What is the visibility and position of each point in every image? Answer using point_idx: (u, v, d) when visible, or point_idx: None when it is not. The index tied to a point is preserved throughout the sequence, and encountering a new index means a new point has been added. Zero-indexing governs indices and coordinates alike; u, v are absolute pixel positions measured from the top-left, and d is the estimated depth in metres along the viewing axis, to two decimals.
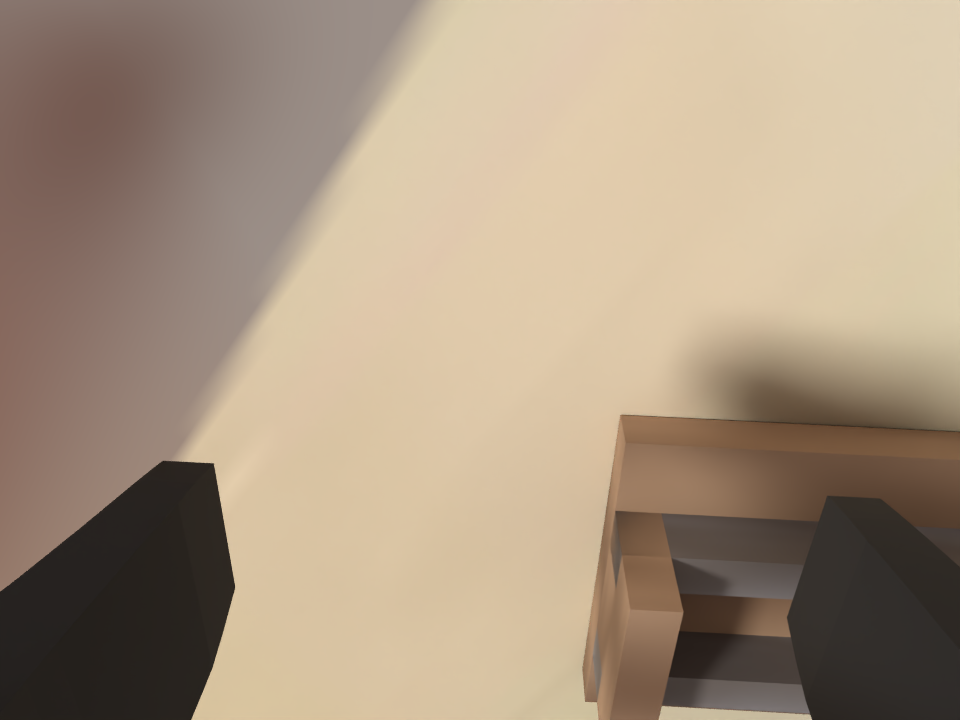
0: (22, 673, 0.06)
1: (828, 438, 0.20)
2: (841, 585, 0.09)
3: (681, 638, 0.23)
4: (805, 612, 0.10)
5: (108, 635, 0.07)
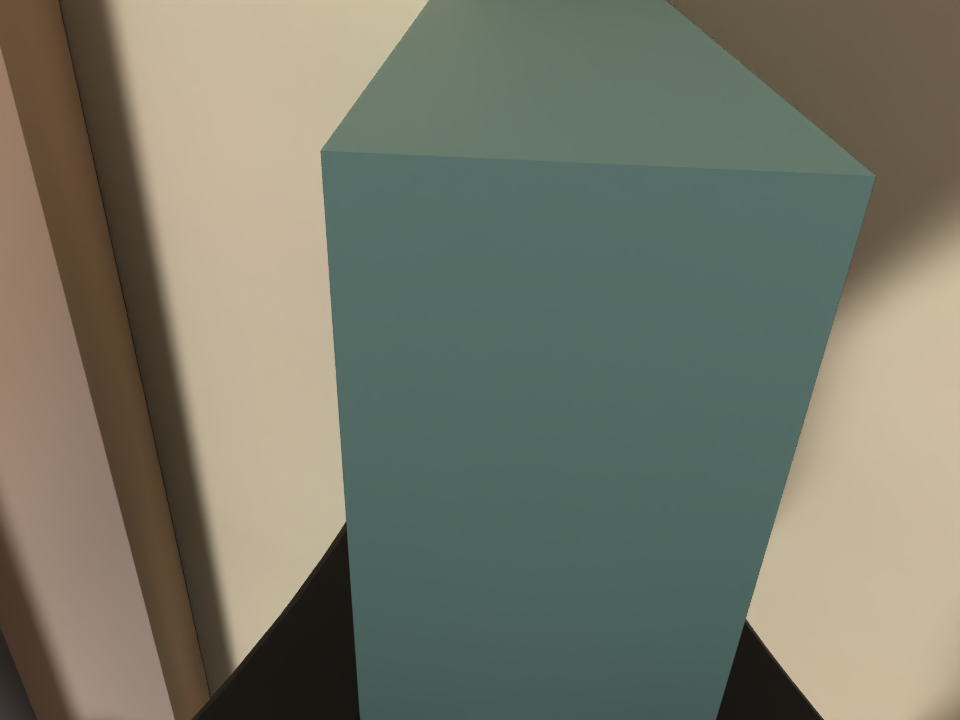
0: (354, 692, 0.06)
1: None
2: None
3: None
4: None
5: None
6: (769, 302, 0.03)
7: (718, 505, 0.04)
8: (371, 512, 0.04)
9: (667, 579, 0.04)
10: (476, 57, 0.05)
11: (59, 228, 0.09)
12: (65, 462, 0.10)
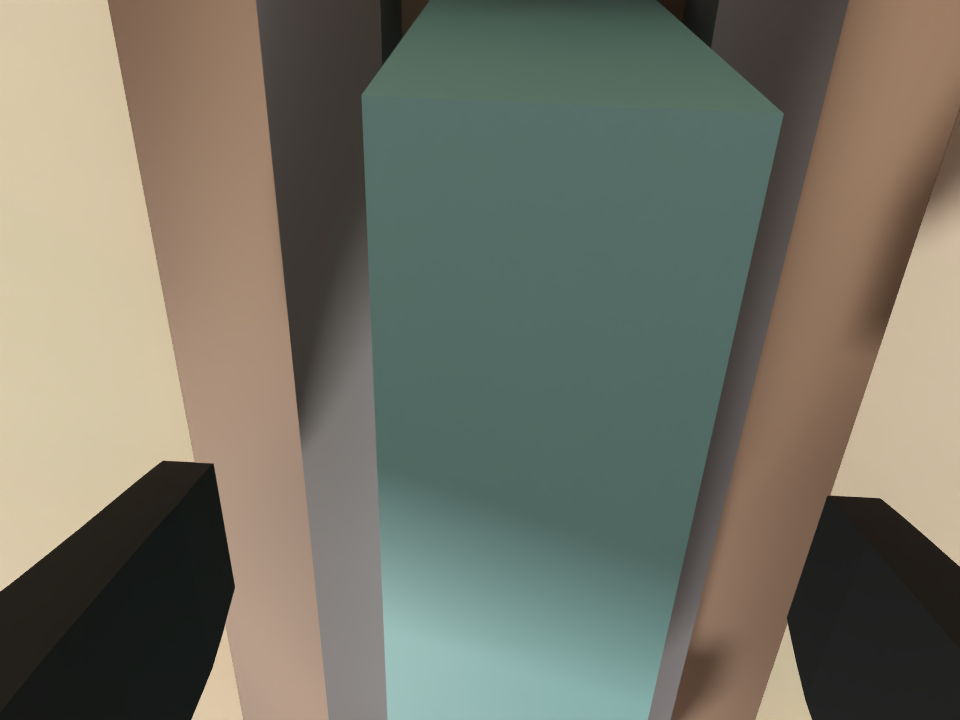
0: (22, 673, 0.06)
1: None
2: (841, 585, 0.09)
3: None
4: (805, 612, 0.10)
5: (108, 635, 0.07)
6: (707, 215, 0.04)
7: (673, 388, 0.05)
8: (394, 397, 0.05)
9: (634, 454, 0.05)
10: (478, 33, 0.05)
11: None
12: (825, 399, 0.12)
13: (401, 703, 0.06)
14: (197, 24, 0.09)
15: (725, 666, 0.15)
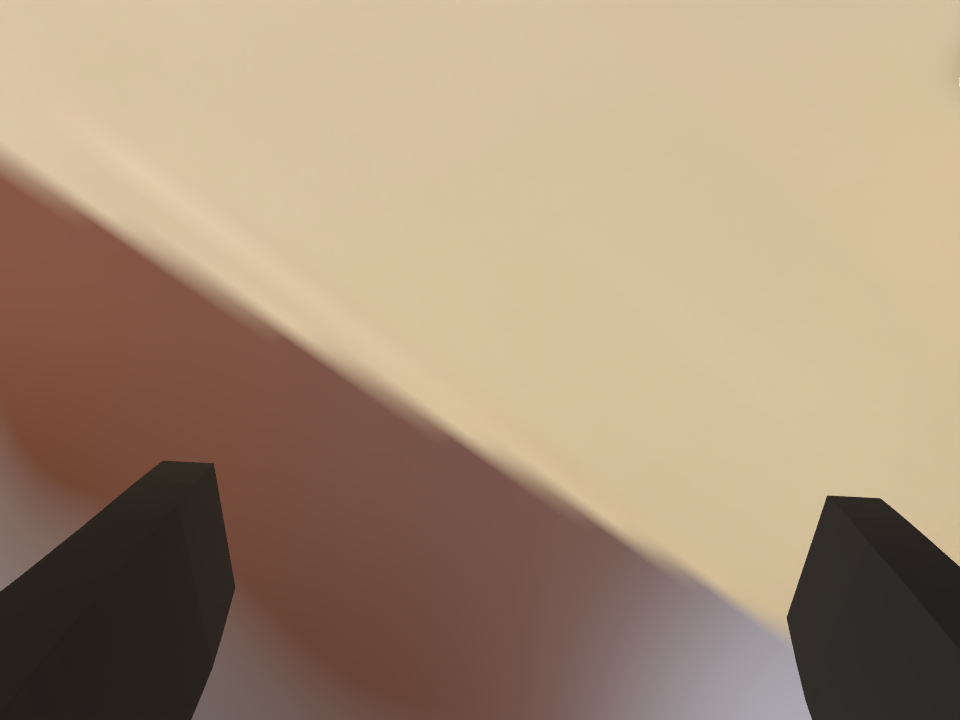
0: (22, 673, 0.06)
1: None
2: (841, 585, 0.09)
3: None
4: (805, 612, 0.10)
5: (108, 635, 0.07)
6: None
7: None
8: None
9: None
10: None
11: None
12: None
13: None
14: None
15: None
